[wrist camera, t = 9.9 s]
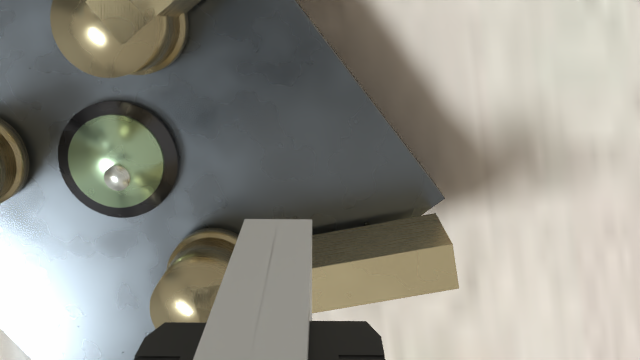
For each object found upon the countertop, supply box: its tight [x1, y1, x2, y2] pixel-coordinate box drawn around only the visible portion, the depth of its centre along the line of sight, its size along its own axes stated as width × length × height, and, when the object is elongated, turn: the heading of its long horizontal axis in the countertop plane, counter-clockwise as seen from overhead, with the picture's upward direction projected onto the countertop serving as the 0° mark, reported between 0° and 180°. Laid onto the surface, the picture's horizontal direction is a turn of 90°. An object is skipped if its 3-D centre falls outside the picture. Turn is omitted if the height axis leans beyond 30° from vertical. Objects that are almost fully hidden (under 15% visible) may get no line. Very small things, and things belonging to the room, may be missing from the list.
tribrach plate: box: [0, 0, 445, 360], centre depth 29 cm, size 22×22×3 cm
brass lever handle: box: [149, 213, 459, 329], centre depth 27 cm, size 13×4×4 cm, turn 101°
